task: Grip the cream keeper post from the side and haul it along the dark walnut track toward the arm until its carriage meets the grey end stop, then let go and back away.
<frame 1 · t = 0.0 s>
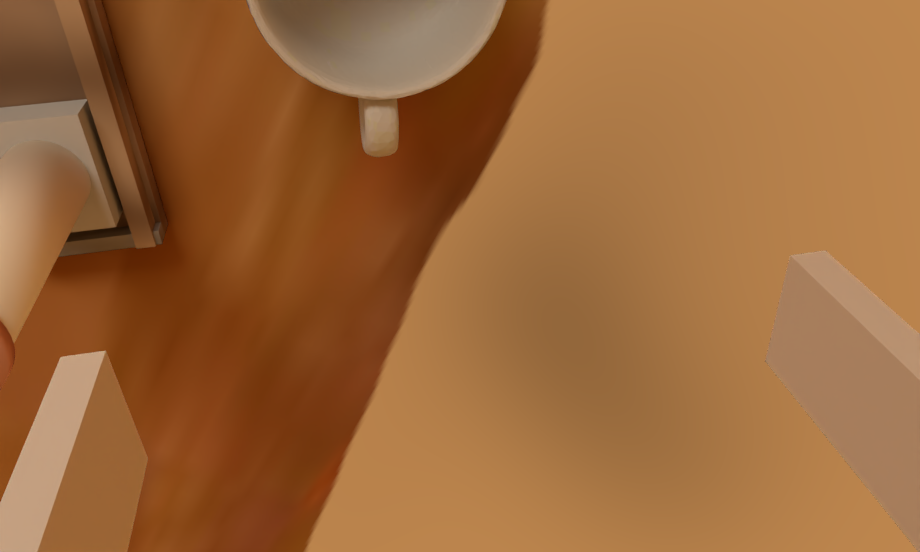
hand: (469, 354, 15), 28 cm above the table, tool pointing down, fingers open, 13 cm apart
keeper: (6, 240, 31), point 9 cm above the table, slide at 10.6 cm
track: (28, 53, 36), on the table
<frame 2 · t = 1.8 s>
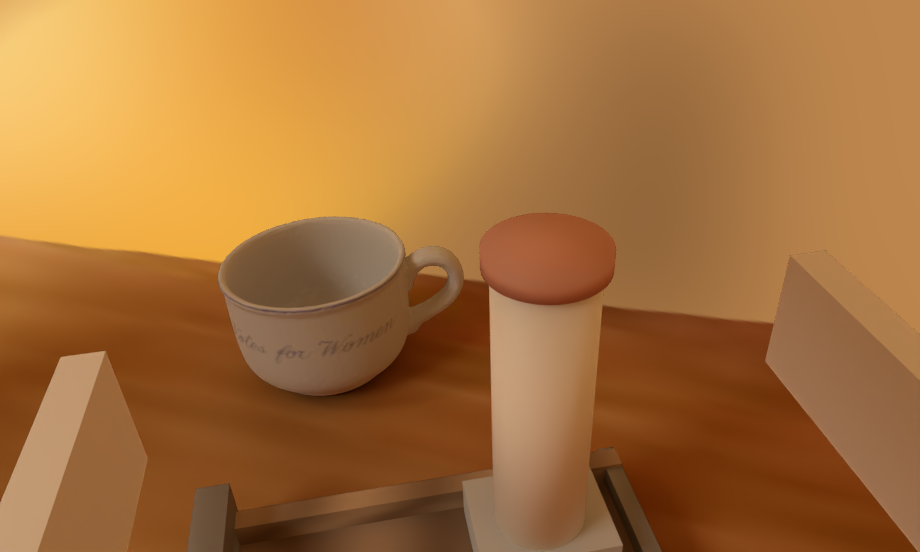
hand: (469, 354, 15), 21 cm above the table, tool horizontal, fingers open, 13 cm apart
keeper: (541, 415, 30), point 9 cm above the table, slide at 10.6 cm
teacup: (355, 363, 48), on the table
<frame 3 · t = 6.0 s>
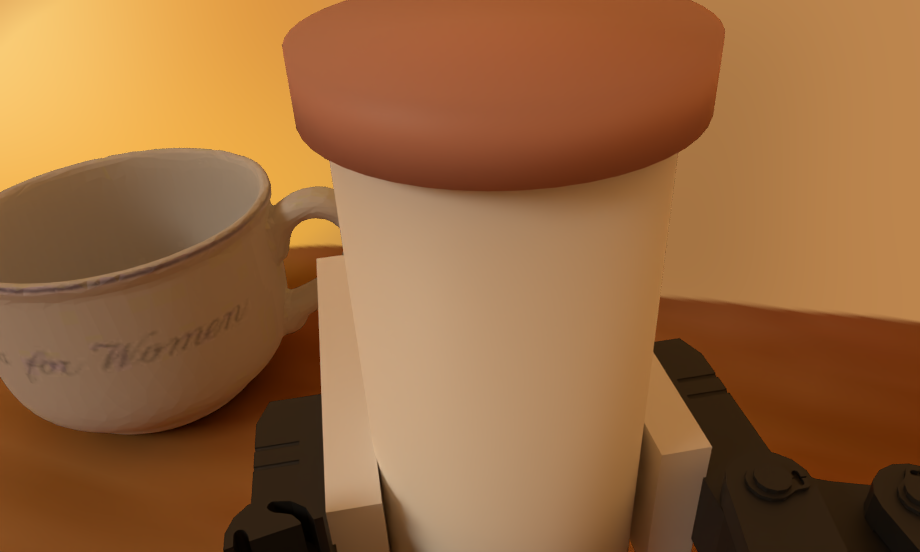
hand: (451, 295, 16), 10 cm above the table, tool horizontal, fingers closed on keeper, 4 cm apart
keeper: (506, 513, 12), point 9 cm above the table, slide at 11.7 cm, touching gripper, track
teacup: (209, 379, 30), on the table
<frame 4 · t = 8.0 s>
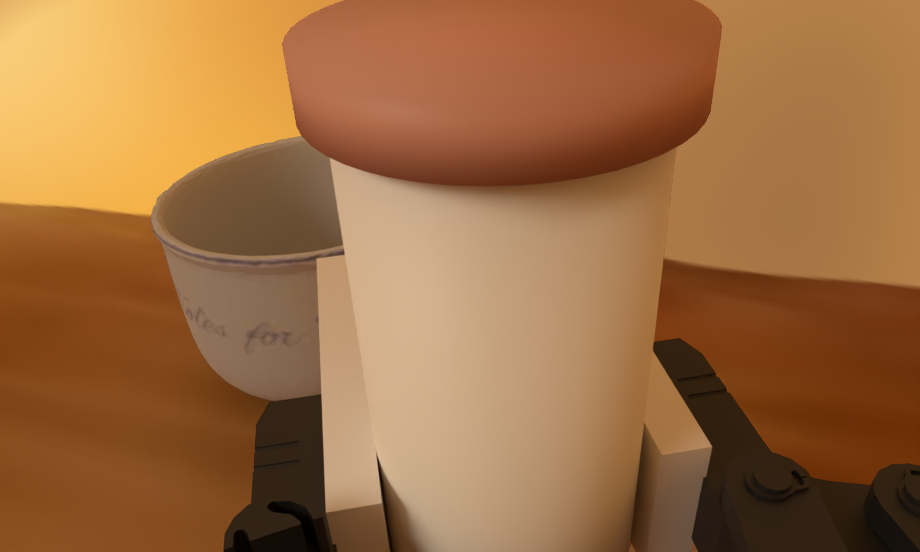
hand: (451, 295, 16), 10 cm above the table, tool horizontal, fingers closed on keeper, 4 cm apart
keeper: (508, 511, 12), point 9 cm above the table, slide at 5.1 cm, touching gripper
teacup: (376, 357, 31), on the table
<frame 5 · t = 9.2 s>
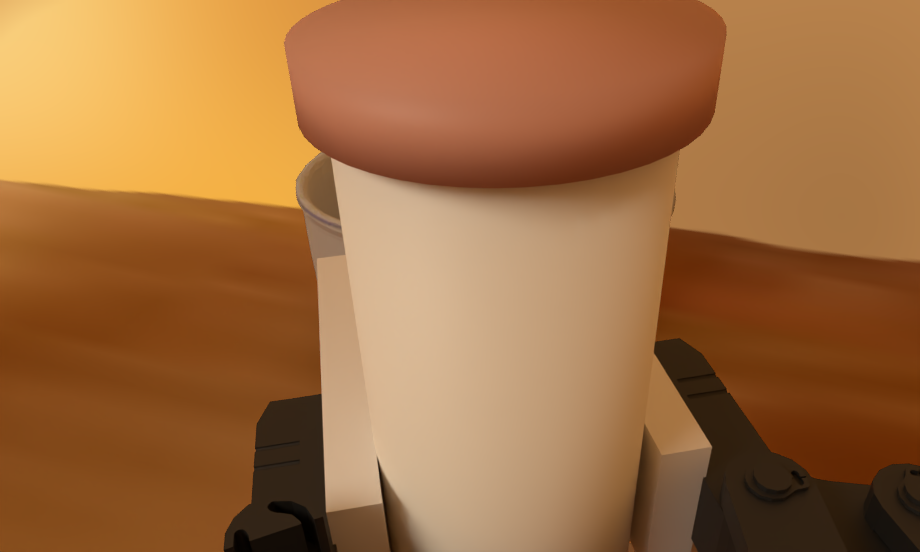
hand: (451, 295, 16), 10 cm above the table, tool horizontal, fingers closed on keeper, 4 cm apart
keeper: (507, 510, 12), point 9 cm above the table, slide at 0.0 cm, touching gripper, track
teacup: (492, 337, 32), on the table
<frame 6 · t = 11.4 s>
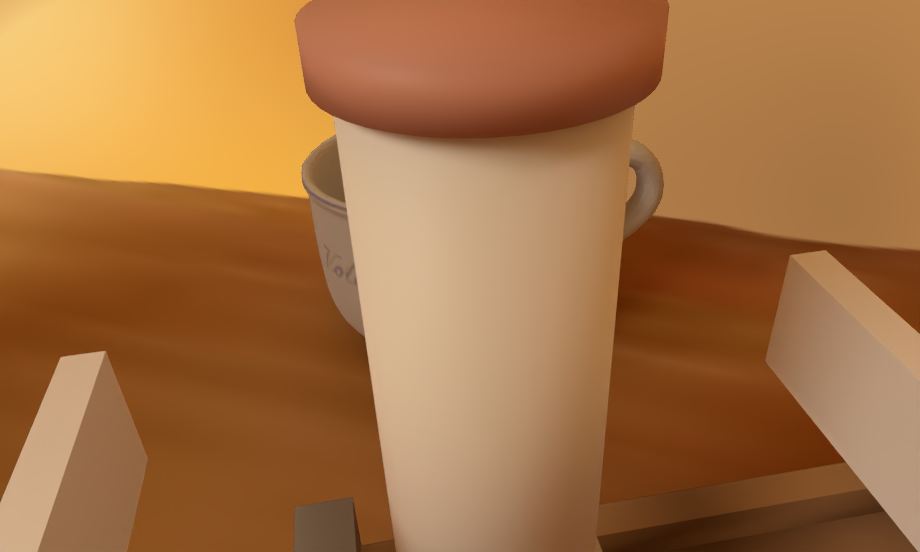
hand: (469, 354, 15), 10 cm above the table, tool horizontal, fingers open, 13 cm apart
keeper: (492, 450, 14), point 9 cm above the table, slide at 0.0 cm, touching track
teacup: (489, 319, 33), on the table
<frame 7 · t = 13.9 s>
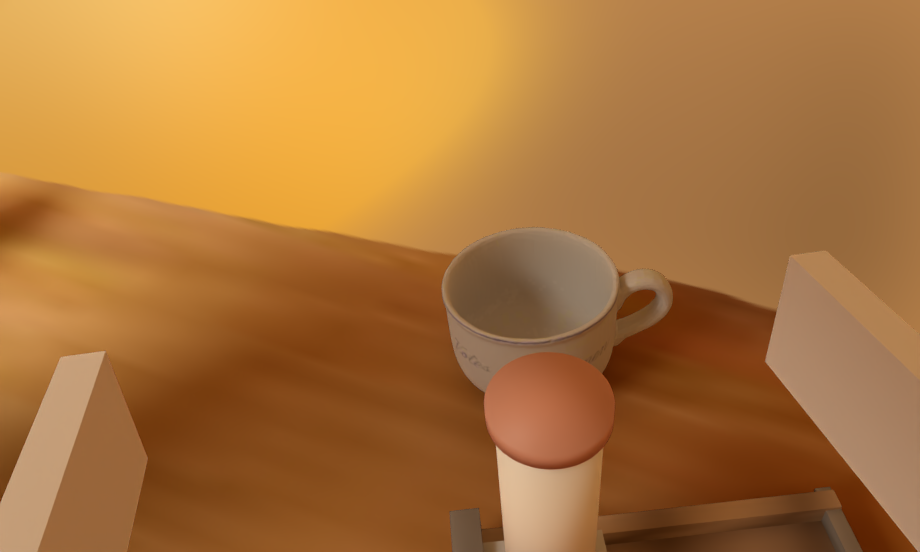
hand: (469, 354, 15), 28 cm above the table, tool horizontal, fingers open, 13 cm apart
keeper: (549, 518, 32), point 9 cm above the table, slide at 0.0 cm, touching track
teacup: (556, 367, 50), on the table
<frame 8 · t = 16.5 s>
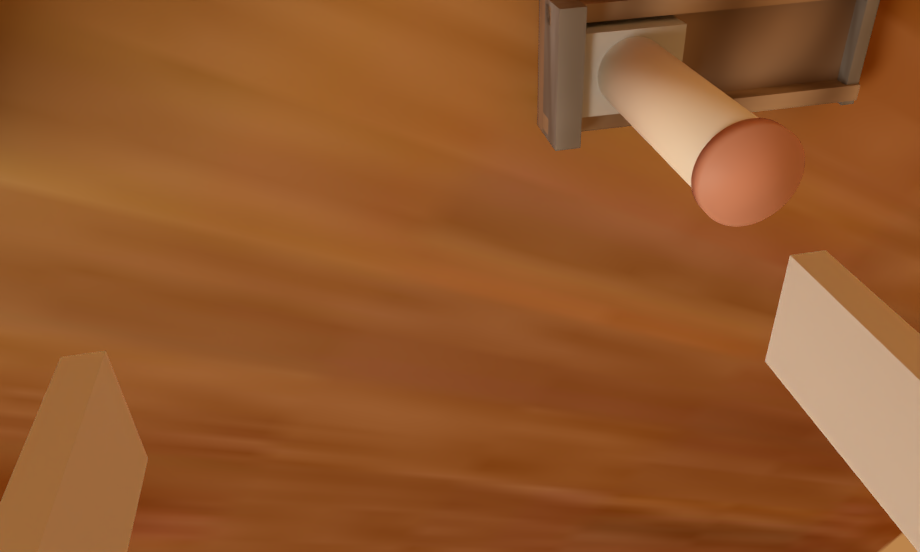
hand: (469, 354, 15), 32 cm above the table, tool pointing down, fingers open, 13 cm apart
keeper: (673, 109, 38), point 9 cm above the table, slide at 0.0 cm, touching track
track: (697, 45, 46), on the table
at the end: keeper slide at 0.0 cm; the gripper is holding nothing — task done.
